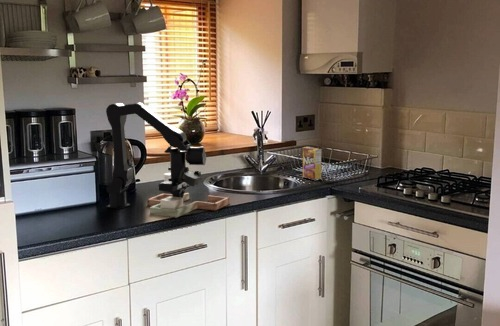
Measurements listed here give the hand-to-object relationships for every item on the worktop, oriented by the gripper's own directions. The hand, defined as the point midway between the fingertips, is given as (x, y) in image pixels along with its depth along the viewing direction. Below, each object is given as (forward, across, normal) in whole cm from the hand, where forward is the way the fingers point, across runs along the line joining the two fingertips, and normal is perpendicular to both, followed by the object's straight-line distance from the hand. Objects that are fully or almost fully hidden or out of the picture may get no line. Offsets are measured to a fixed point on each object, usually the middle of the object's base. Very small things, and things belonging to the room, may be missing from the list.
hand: (179, 204), depth 215 cm
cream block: (+2, -5, 0) cm, 5 cm away
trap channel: (+2, +2, 0) cm, 2 cm away
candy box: (+2, +71, -28) cm, 76 cm away
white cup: (+2, +27, +21) cm, 34 cm away
